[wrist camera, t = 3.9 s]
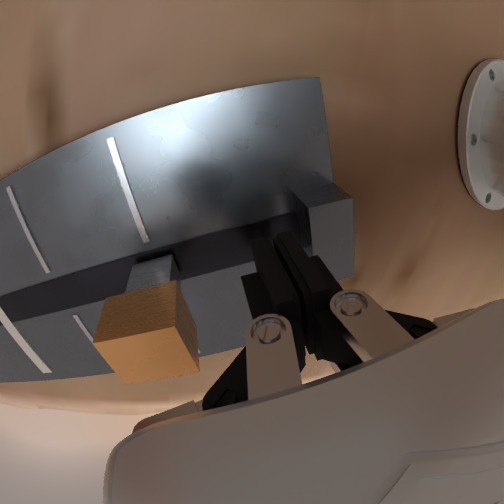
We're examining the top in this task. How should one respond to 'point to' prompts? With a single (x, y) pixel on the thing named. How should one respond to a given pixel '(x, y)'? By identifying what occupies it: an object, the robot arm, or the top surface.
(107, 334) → the fader tab
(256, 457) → the robot arm
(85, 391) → the top surface
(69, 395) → the top surface
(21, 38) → the top surface
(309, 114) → the grey slider board
